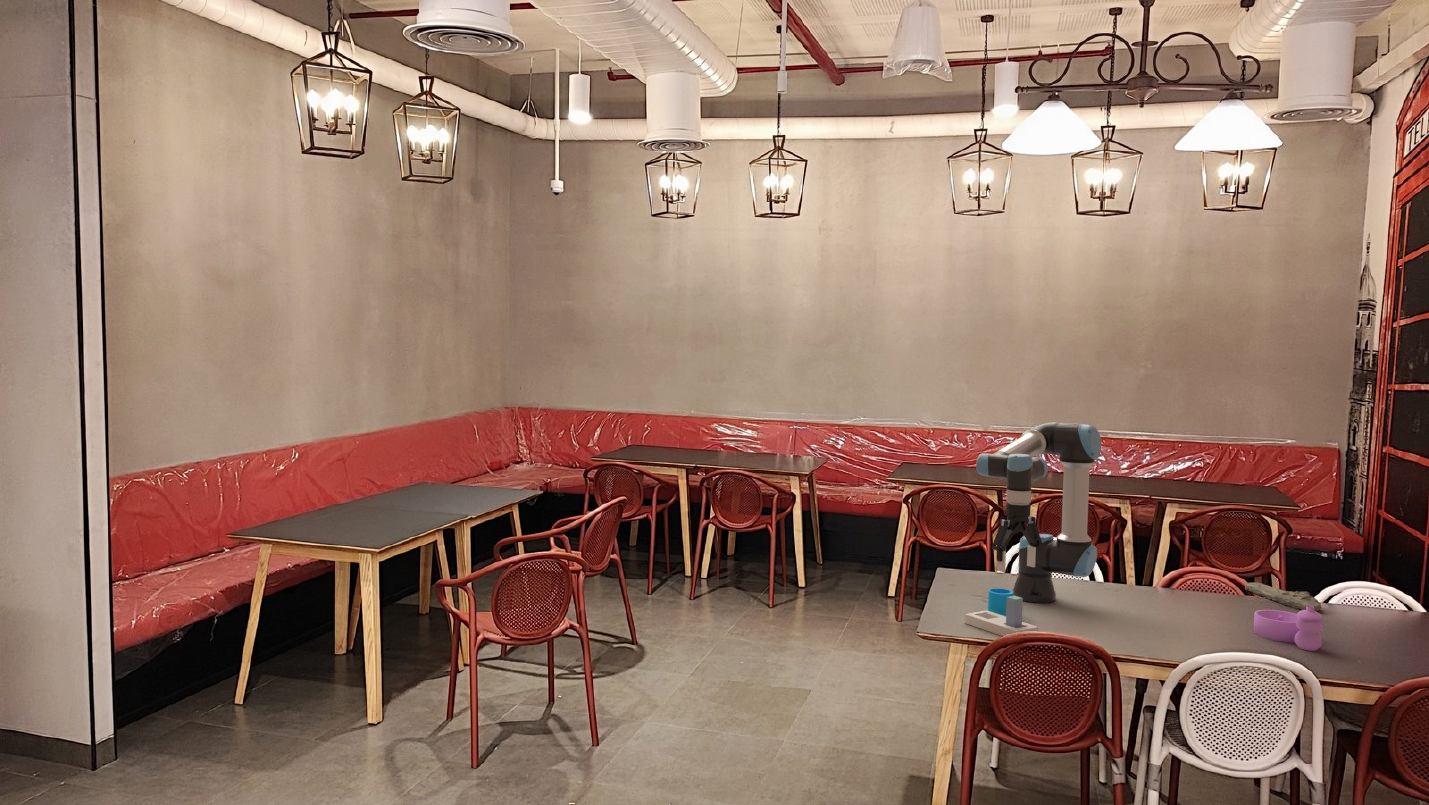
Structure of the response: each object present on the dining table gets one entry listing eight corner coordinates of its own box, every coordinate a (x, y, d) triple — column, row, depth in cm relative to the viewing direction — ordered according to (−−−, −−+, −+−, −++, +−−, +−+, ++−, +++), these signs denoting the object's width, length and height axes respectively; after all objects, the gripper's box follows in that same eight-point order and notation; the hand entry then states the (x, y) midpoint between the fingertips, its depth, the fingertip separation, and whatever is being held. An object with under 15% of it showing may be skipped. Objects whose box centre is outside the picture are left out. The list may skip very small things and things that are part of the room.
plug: (1013, 631, 329) (1014, 595, 328) (1021, 634, 326) (1022, 598, 325) (1005, 633, 327) (1006, 597, 326) (1013, 636, 324) (1015, 599, 323)
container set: (1243, 628, 337) (1245, 589, 336) (1287, 628, 338) (1289, 589, 337) (1292, 652, 312) (1294, 610, 311) (1339, 652, 313) (1341, 610, 313)
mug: (1011, 619, 344) (1012, 595, 343) (986, 616, 346) (987, 592, 346) (1013, 610, 355) (1014, 587, 354) (989, 607, 358) (990, 584, 357)
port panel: (964, 623, 338) (964, 613, 337) (986, 619, 343) (986, 609, 343) (1015, 640, 319) (1016, 630, 319) (1037, 636, 324) (1038, 626, 324)
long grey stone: (1260, 592, 394) (1237, 594, 392) (1259, 578, 393) (1236, 580, 392) (1330, 611, 359) (1306, 614, 357) (1330, 596, 359) (1305, 599, 357)
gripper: (1036, 498, 333) (1034, 562, 335) (981, 504, 320) (979, 571, 322) (1054, 501, 327) (1052, 566, 328) (999, 508, 314) (997, 576, 315)
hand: (1016, 569), depth 325 cm, fingers open, 13 cm apart
